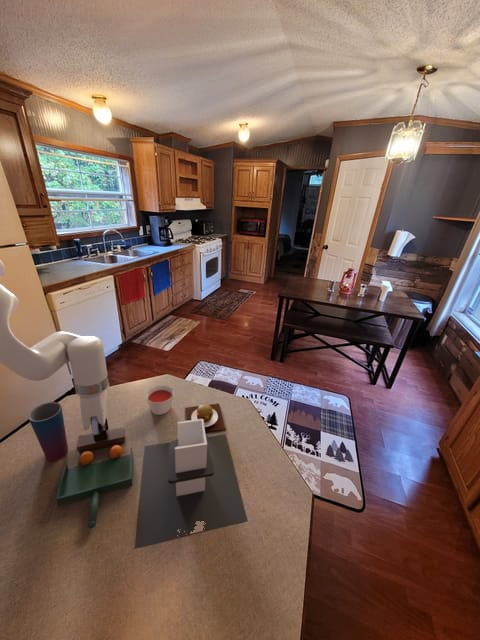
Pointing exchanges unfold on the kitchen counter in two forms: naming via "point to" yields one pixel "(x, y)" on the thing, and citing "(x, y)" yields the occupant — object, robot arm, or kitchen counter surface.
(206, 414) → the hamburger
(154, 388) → the candle
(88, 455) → the crumb
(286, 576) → the kitchen counter surface
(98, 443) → the brush
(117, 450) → the crumb
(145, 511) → the candle holder
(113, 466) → the dustpan
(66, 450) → the cup
